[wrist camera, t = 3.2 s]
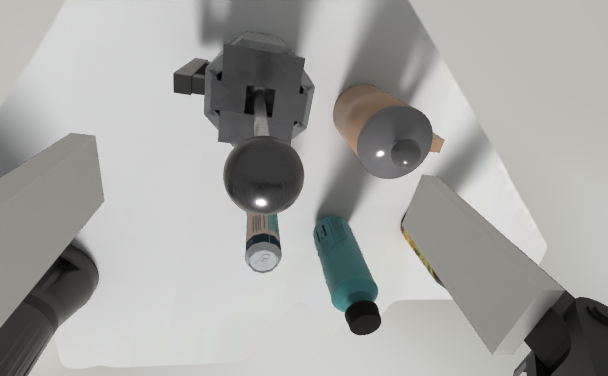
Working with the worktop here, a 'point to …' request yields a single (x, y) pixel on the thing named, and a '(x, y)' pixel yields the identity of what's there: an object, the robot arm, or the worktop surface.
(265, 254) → the beer can
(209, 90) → the steel carafe
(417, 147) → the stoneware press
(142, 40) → the worktop surface
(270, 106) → the plunger
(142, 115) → the worktop surface
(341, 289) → the beverage bottle
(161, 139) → the worktop surface
